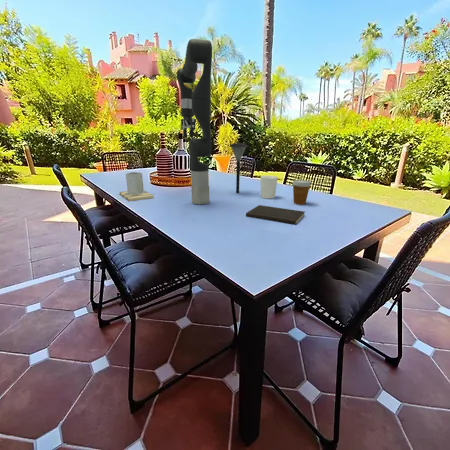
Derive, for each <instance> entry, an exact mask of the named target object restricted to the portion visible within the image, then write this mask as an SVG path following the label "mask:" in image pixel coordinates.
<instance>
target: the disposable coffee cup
mask: <svg viewBox="0 0 450 450" xmlns="http://www.w3.org/2000/svg"><path fill="white" fill-rule="evenodd" d="M311 185H312V184H311V181H310V180H305V179H295V180H294V179H293V181H292V187H293V188H292V190H293V204H295V205H300V206H301V205H306V203H307V198H308V195H309V192H310V187H311Z"/></svg>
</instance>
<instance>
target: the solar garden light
mask: <svg viewBox="0 0 450 450" xmlns="http://www.w3.org/2000/svg"><path fill="white" fill-rule="evenodd" d="M228 147H229V148H230V147H231V149H232V152H233V155H234V157H235V159H236V177H235V178H236V179H235V180H236V183H235V185H236V186H235V187H236V188H235V193H236V194H240V176H241V175H240V170H241V169H240V168H241V167H240V166H241V159H242V157H243V155H244V153H245V150H246V148H249V147H250V146H249V145H248V144H246V143H243V142H241V143H239V142H234V143H232V144H230V145H229V146H228Z"/></svg>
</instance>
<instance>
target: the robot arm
mask: <svg viewBox="0 0 450 450" xmlns="http://www.w3.org/2000/svg"><path fill="white" fill-rule="evenodd" d="M184 60H185V61H184V63H183V66H182V68H178V70H177V71H176V78H177V83H178V85H179V90H180V116H181V117H182V118H181V119H180V129H181V130H182V136H183V138H187V137H188V131H187V130H189V138H190V140H189V145H188V148H189V149H188V151H189V163H190V165H189V166H190V179H191V180H190V182H191V184H190V185H191V186H190V187H191V203H192V204H194V205H207V204H210V184H209V179H210V178H209V177H210V175H209V174H210V173H209V170H210V169H209V165H208V164H207V163H204V162H201V161H200V160H199V158H208V157H210V156H211V155H212V147H213V146H212V131H211V111H212V107H211V106H212V103H211V102H212V97H211V96H212V92H211V91H212V90H211V87H212V85H211V82H212V81H211V80H212V79H211V78H212V65H213V45H212V42H211V41H210V40H207V39H198V38H191V39H189V40H188V41H187V44H186V51H185V58H184ZM198 64H199V65H200V64H202V65H203V69H202V74H201V76H200V78H199V80H198V82H197V84H196V85H195V87H194V89H192V88H190V87H188V86H186V85H185V84H194V83H195V82H196V73H197V72H198V67H199V66H198ZM193 117H195V118H193ZM196 121H197V123H198V125H199V126H200V129H201V132H202V138H201V137H200V138H198V137H197V138H196V137H195V136H194V131H195V130H196ZM194 137H195V138H194Z"/></svg>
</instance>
